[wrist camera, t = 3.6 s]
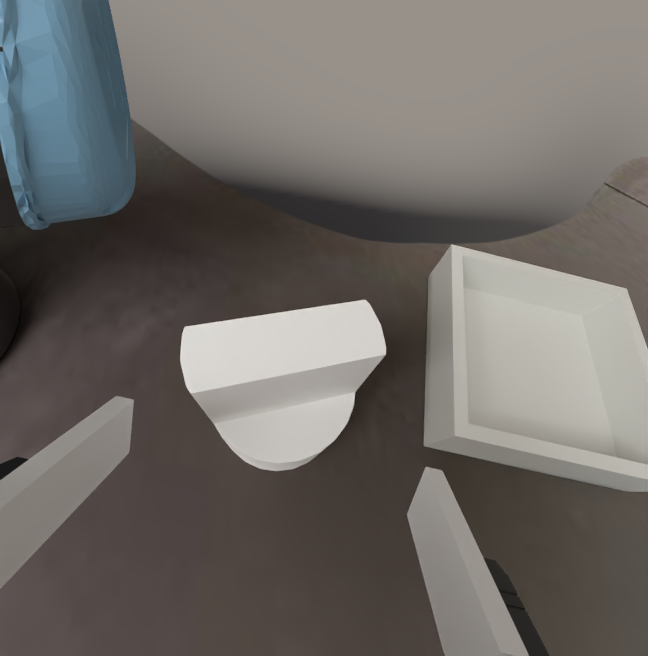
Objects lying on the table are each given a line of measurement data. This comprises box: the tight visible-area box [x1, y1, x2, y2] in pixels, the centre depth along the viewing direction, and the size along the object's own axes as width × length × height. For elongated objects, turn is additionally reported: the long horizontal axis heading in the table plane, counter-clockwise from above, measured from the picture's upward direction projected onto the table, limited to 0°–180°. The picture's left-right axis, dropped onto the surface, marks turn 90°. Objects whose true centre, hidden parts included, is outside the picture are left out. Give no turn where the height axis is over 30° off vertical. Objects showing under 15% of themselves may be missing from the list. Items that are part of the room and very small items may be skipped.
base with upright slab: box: [180, 300, 386, 471], centre depth 19 cm, size 9×9×12 cm
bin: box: [423, 244, 648, 492], centre depth 27 cm, size 17×17×5 cm
